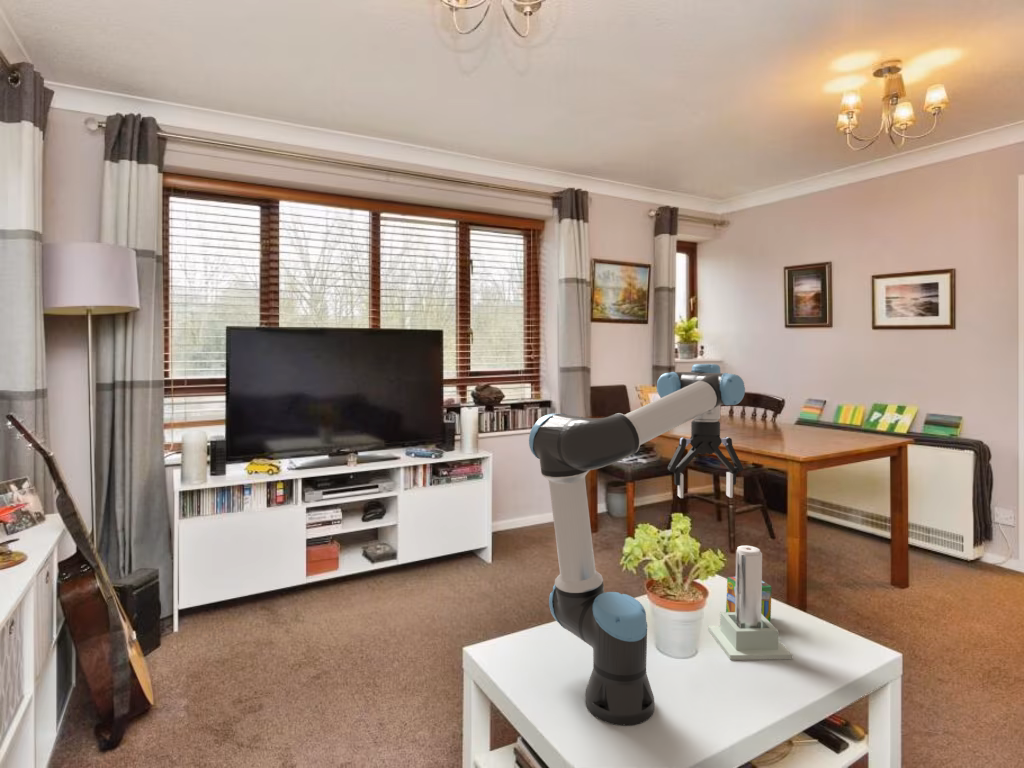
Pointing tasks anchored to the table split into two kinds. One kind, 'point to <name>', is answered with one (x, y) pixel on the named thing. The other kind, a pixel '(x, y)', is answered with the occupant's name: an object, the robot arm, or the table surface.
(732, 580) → the chalk box
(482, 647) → the table surface
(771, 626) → the socket block
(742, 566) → the silver metal bar
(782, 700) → the table surface
